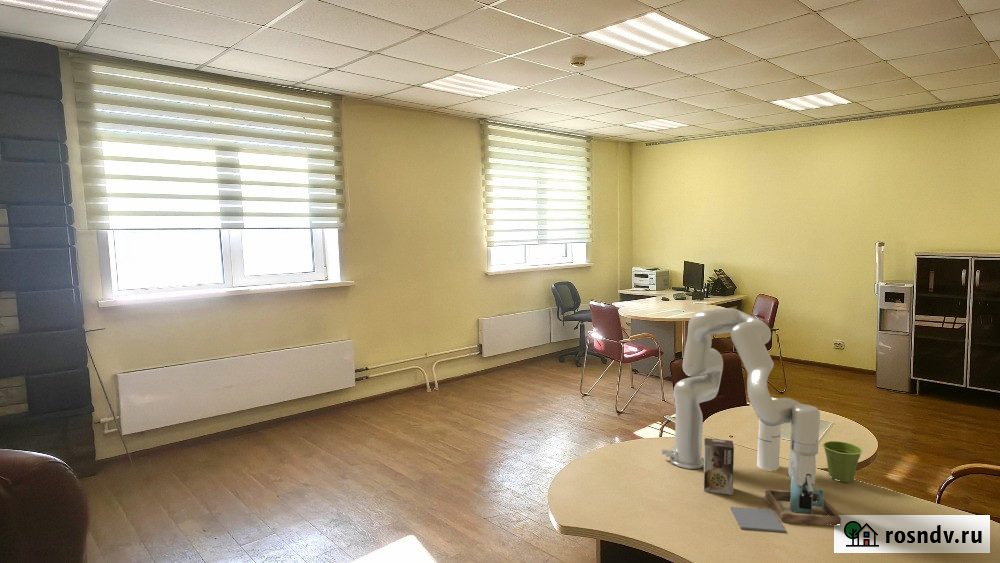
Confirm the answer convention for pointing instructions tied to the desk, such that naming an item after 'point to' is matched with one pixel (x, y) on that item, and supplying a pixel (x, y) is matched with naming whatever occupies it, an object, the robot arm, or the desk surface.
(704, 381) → the robot arm
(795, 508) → the teal mug
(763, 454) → the cylindrical container
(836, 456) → the plant pot
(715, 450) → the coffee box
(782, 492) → the brown wooden square frame
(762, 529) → the rubber mat
